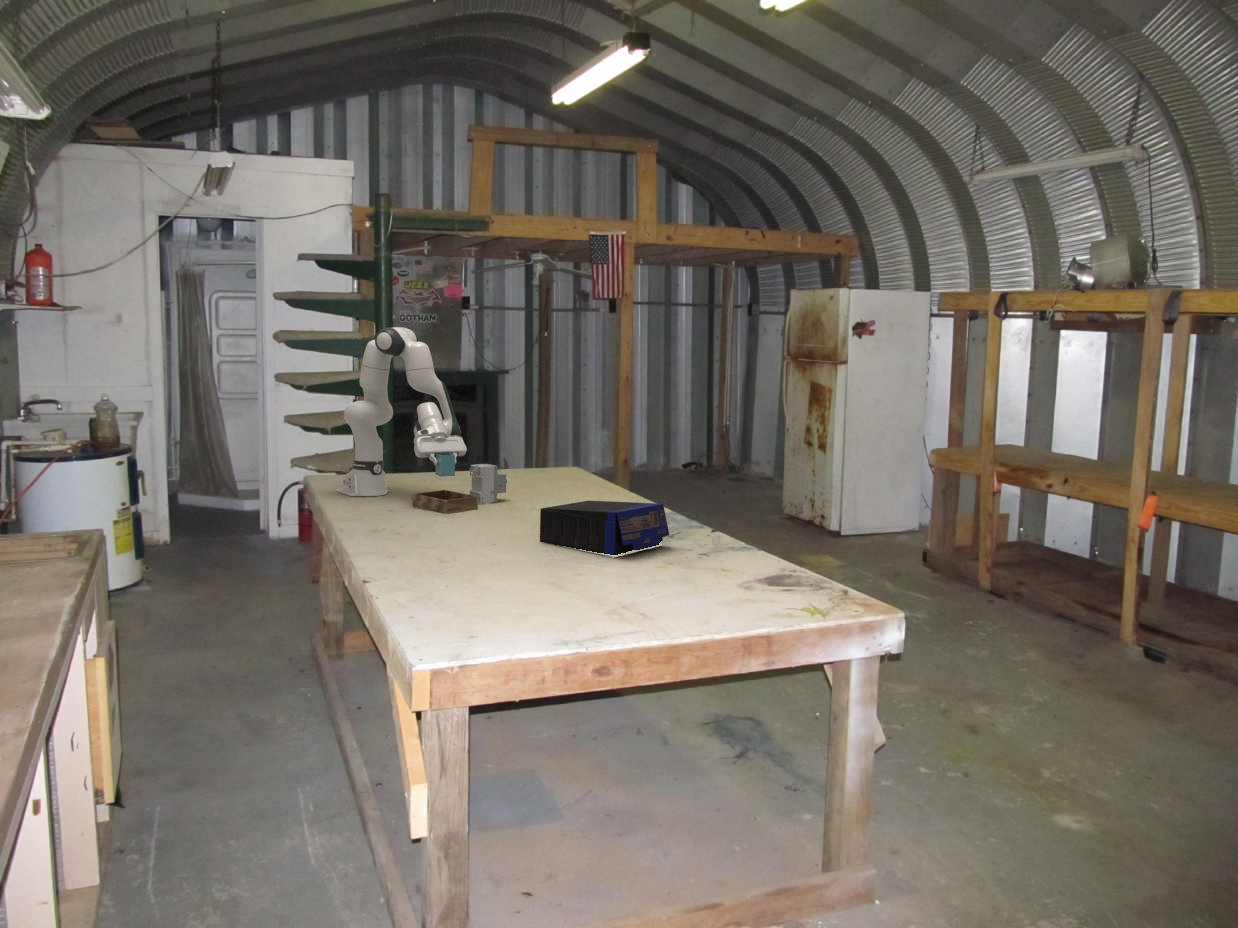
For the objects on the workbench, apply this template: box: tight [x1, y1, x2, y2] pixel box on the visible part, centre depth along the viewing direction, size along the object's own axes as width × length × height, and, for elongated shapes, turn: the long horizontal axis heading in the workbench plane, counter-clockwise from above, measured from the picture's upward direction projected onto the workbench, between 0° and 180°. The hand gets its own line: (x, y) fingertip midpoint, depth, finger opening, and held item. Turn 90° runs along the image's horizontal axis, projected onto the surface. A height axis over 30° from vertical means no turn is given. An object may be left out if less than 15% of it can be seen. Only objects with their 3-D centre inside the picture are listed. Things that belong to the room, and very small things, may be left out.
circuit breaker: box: [469, 463, 508, 505], centre depth 379 cm, size 8×14×15 cm, turn 133°
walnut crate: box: [411, 489, 479, 515], centre depth 362 cm, size 20×16×5 cm
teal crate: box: [434, 453, 456, 477], centre depth 360 cm, size 6×6×8 cm
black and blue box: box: [539, 500, 670, 555], centre depth 304 cm, size 25×35×14 cm
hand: (445, 464), depth 359 cm, fingers closed on teal crate, 6 cm apart
